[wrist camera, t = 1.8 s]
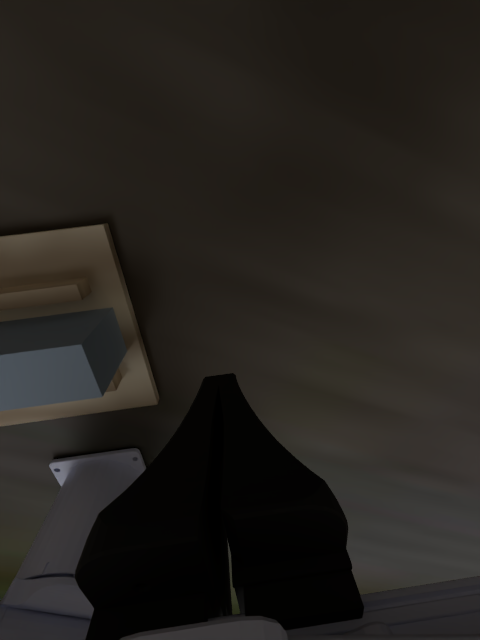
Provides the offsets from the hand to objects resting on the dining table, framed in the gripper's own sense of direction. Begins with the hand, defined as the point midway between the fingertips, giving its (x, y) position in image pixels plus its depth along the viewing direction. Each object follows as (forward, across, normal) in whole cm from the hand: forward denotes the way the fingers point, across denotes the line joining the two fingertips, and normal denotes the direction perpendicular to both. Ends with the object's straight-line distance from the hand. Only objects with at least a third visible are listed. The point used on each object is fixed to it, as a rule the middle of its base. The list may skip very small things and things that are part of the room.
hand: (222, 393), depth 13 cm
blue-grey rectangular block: (+8, +12, 0) cm, 15 cm away
